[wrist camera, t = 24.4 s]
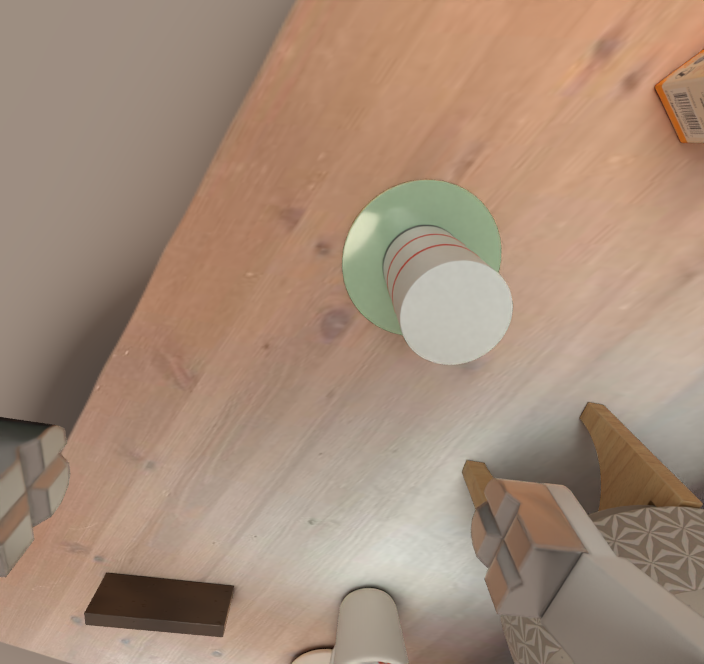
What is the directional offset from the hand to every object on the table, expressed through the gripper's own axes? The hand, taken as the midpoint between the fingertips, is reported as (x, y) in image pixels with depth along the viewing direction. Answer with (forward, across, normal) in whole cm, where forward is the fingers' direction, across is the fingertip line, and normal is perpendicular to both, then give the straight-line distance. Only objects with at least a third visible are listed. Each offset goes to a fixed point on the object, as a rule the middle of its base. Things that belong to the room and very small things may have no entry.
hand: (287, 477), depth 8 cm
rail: (+25, +10, +42) cm, 50 cm away
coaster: (+24, -8, +1) cm, 26 cm away
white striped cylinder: (+23, -8, +5) cm, 24 cm away
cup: (+24, -12, +43) cm, 51 cm away
